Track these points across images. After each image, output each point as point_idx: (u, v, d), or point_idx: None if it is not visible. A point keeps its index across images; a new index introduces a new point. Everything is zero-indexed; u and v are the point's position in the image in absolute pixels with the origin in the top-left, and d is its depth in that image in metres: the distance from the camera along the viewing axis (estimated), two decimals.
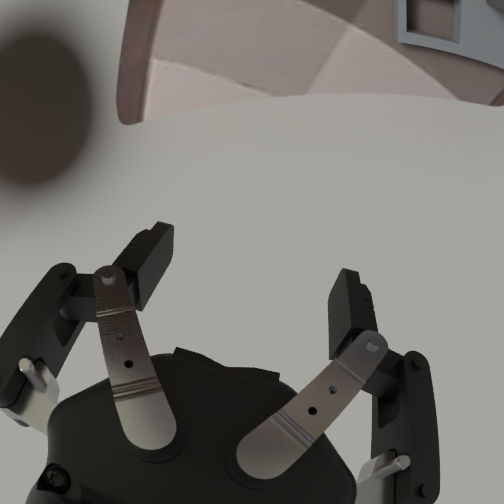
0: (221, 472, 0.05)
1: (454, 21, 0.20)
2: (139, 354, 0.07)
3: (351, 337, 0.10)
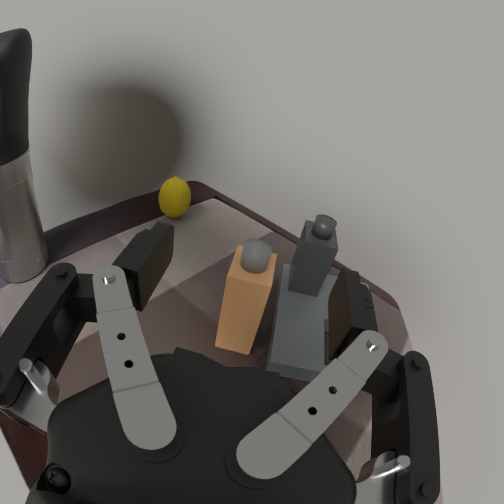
0: (221, 472, 0.05)
1: None
2: (139, 354, 0.07)
3: (351, 337, 0.10)
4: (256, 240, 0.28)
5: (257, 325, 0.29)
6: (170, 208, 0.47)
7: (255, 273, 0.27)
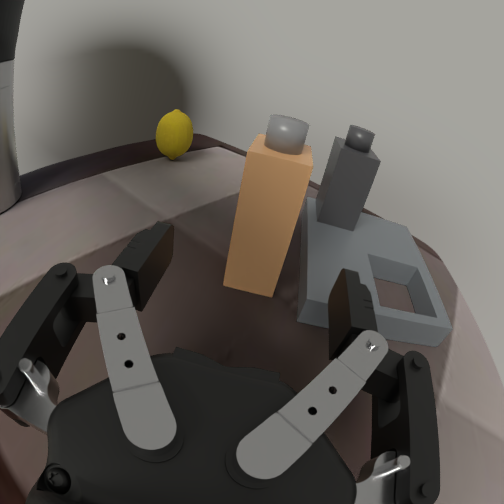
0: (221, 472, 0.05)
1: (387, 277, 0.28)
2: (139, 354, 0.07)
3: (351, 337, 0.10)
4: (286, 116, 0.19)
5: (288, 240, 0.20)
6: (169, 143, 0.38)
7: (287, 154, 0.18)
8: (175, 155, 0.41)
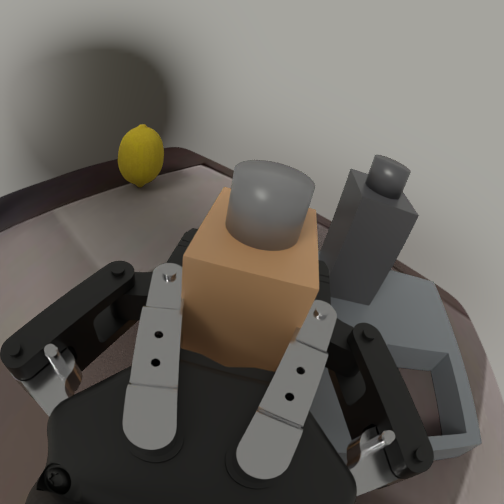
0: (229, 483, 0.05)
1: (408, 365, 0.19)
2: (169, 356, 0.07)
3: None
4: (269, 163, 0.10)
5: None
6: (132, 169, 0.30)
7: (269, 250, 0.09)
8: (142, 183, 0.32)
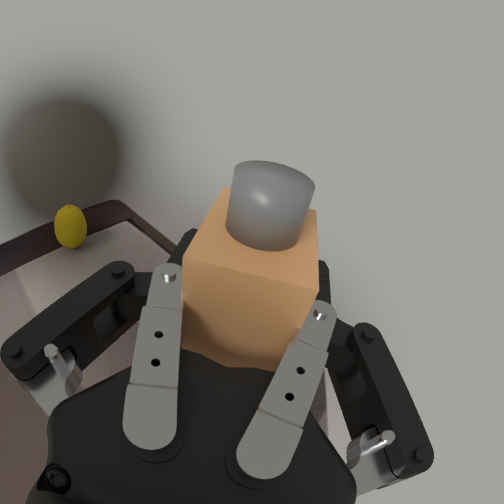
0: (229, 483, 0.05)
1: None
2: (169, 356, 0.07)
3: None
4: (269, 164, 0.10)
5: None
6: (63, 240, 0.38)
7: (269, 250, 0.09)
8: (72, 247, 0.40)
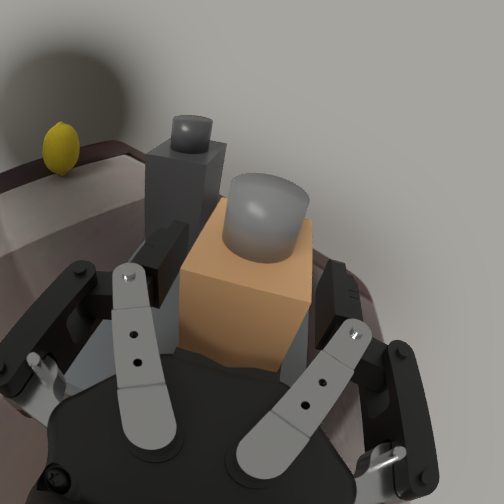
0: (223, 476, 0.05)
1: None
2: (149, 354, 0.07)
3: (335, 325, 0.10)
4: (265, 176, 0.10)
5: None
6: (50, 160, 0.30)
7: (264, 262, 0.10)
8: (60, 171, 0.32)
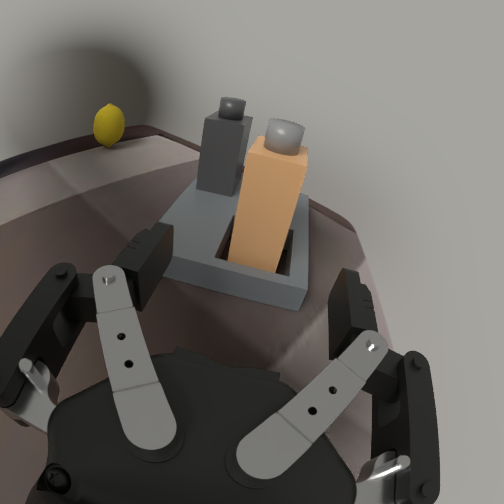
0: (221, 472, 0.05)
1: None
2: (139, 354, 0.07)
3: (351, 337, 0.10)
4: (284, 120, 0.20)
5: (285, 234, 0.22)
6: (101, 133, 0.40)
7: (284, 154, 0.20)
8: (108, 143, 0.42)
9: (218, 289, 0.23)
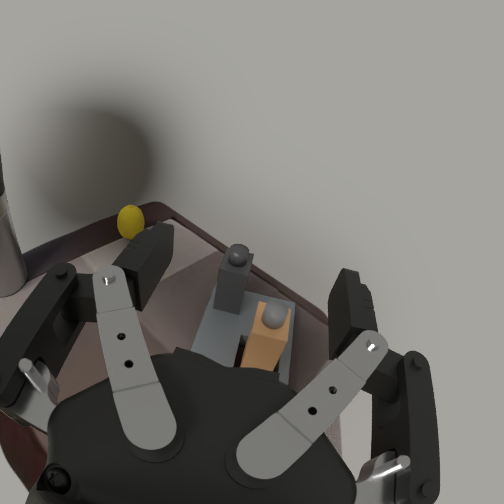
0: (221, 472, 0.05)
1: None
2: (139, 354, 0.07)
3: (351, 337, 0.10)
4: (275, 301, 0.33)
5: (274, 366, 0.34)
6: (126, 232, 0.53)
7: (274, 329, 0.32)
8: None
9: None
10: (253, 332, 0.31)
